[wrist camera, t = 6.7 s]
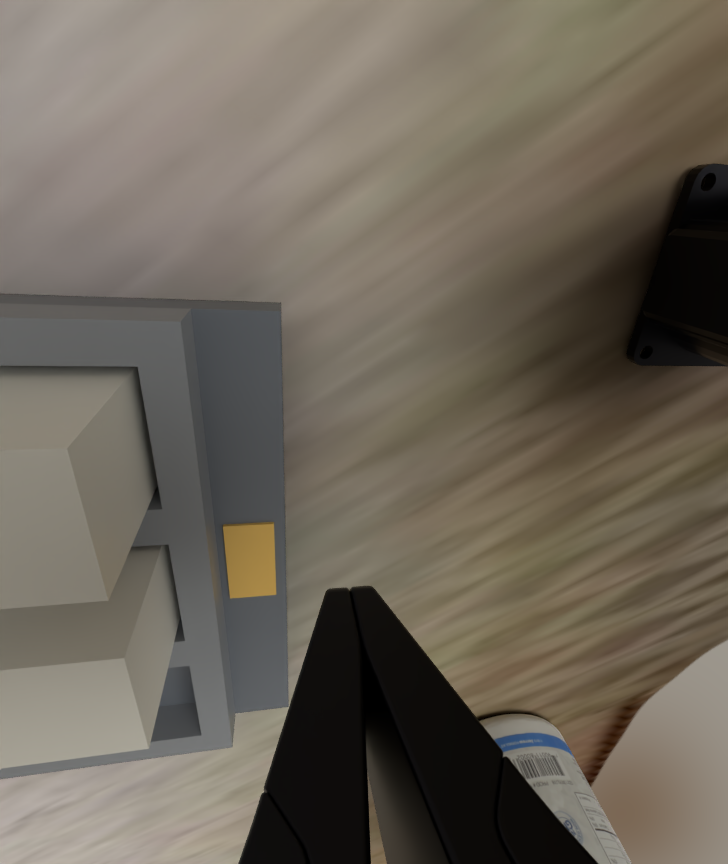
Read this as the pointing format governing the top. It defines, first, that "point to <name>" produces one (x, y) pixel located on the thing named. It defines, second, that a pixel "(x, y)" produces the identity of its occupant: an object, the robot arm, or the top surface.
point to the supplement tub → (557, 781)
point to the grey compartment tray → (192, 490)
